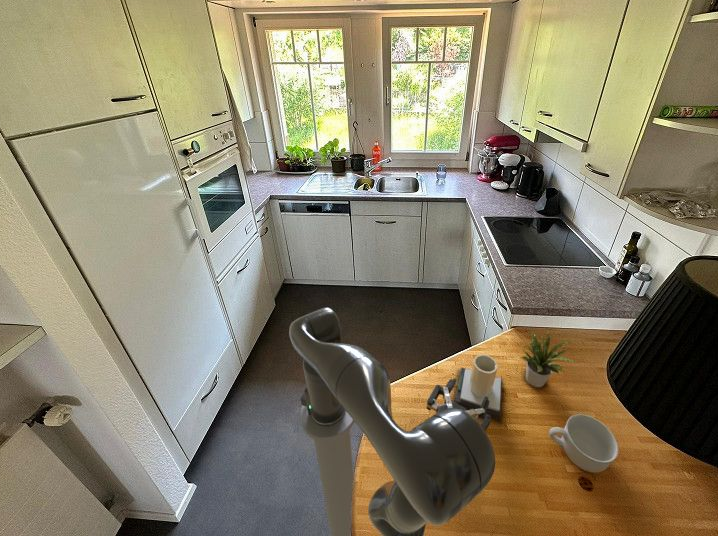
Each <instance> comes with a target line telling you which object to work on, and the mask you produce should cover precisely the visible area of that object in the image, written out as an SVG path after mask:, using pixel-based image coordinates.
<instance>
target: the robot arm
mask: <svg viewBox="0 0 718 536" xmlns="http://www.w3.org/2000/svg"><path fill="white" fill-rule="evenodd" d="M288 334H289V339H290V342H291V344H292V346H293V349H294V350H295V352H296V354H298V355H299V357H301V358H302V369H303V373H304V378H305V385H306V387H305V388H304V391H303V394H302V395H301V397H300V404H301V406H302V405H303V406H306V407H307V409H308V414H309V415H311V416H312V419H313V420H314V422H315V423H317V424H318V425H321V426H331V425H334V424H336V423H338V422H339V421H340V420H341V419H342V418H343V416H344V414H345V411H346V412H347V413H348V414H349V415H350V416H351V418H352V419H353V420H354V423H355V424H356V425H357V426H358V427H359V429H360V430H361V432H362V433H363V435H364V436H365V437H366V438H367V440H368V441H369V443H370V444H371V446H372V447H373V449H374V450H375V452H376V453H377V455H378V457H379V458H380V460H381V461H382V463H383V465H384V466H385V468H386V469H387V471H388V472H389V474H390V476H391V477H392V479H393V480H391V481H390V480H389V481H387V482H385V483H383V484H381V486H380V487H378V488H377V489H376V491H375V492H374V493H373V495H372V497H371V498H370V501H369V503H368V509H367V510H368V516H369V517H368V518H369V521H370V522H371V523H372V525H373V527H374V528H375V529H376V531H378V532H379V533H380V534H381V536H424V534H425V530H426V526H427V523H428V524H430V525H431V526H434V527H435V526H436V527H439V526H442V525H444V524H446V523H447V522H449V521H450V520H452V519H453V518H454V517H456V515H457V514H458V513H459V512H460V511H462V510H463V509H464V508H465V507H466V506H467V505H468V504H470V502H472V500H474V498H476V497H477V496H478V495H479V494H480V493H481V492H482V491H483V490H484V489H485V488H486V487H487V486H488V484H489V483H490V481H491V480H492V479H493V476H494V473H495V470H496V455H495V451H494V450H495V449H494V446H493V443H492V442H491V441H492V440H490V437H489V436H488V434H487V432H486V431H487V430H488V428H489V427H490V424H491V420H492V418H491V416H490V415H489V414H487V413H486V411H487V409H488V406H489V400H488V397H487V396H485V398H484V400H483V402H482V404H481V406H480V408H479V409H475V410H474V409H471V410H466V408H465V407H463V406H460V405H459V404H458V403H456V402H455V400H454V401H452V397H451V392H452V391H453V389H454V388H455V387H456V384H457V378H455V377H453V378H450V379H449V380H448V381H447V383H446V385H444V386H441V385H440V384H436V385H435V386H434V389H433V390H432V392H431V393H430V395H429V397H428V398H427V400H426V410H428V411H431V410H432V411H434V412H436V413H435V414H433V415H431V416H430V417H429V418H426V419H425V420H424V421H422V422H421V423H420V424H417V426H414V427H413V428H412V429H410V430H405V429H403V428H402V427H400V426H399V424H398V423H397V422H396V421H395V419H394V417H393V411H392V386H391V380H390V375H389V373H388V370H387V368H386V367H385V366H384V365H383V363H381V362H380V361H379V360H378V359H377V358H376V357H374V356H373V355H372V353H370V352H369V351H367V350H366V349H364V348H363V347H360V346H358V345H355V344H350V343H343V333H342V326H341V323H340V320H339V317H338V314H337V313H336V312H335V311H334V310H333V309H332V308H330V307H322V308H320V309H317V310H315V311H311V312H310V313H307V314H304V315H303V316H300V317H298V318H296V319H295V320H294V321H292V322H291V323H290V325H289V331H288ZM439 396H442V398H443V403H442V404H439V405H438V402H437V400H438V398H439ZM480 420H482V421H481V423H480V422H479V421H480Z"/></svg>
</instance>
